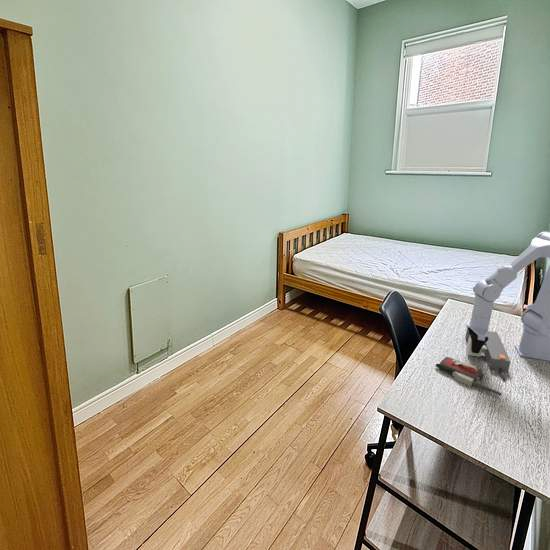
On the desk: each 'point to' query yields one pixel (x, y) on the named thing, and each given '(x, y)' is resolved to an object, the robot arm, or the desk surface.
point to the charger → (469, 351)
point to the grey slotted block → (495, 353)
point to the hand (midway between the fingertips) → (473, 349)
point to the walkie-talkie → (463, 372)
